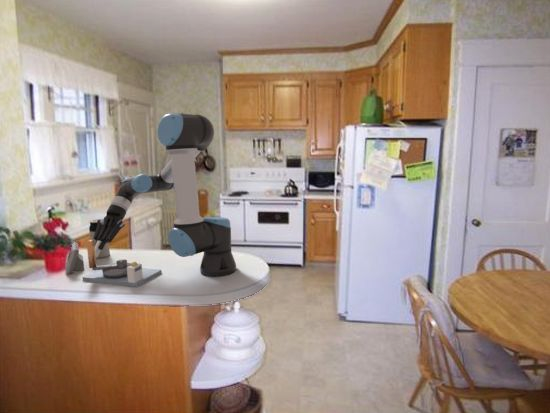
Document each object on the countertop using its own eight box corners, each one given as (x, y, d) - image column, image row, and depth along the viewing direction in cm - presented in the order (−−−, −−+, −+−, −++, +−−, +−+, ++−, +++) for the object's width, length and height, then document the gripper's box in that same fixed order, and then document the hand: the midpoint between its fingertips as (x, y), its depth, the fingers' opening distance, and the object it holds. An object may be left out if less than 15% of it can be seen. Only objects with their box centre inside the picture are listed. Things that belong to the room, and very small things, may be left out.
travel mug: (112, 255, 186) (109, 219, 183) (96, 259, 181) (92, 222, 178) (105, 252, 192) (102, 217, 189) (89, 256, 186) (85, 220, 183)
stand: (161, 273, 160) (160, 252, 158) (137, 286, 145) (135, 264, 143) (110, 268, 168) (109, 248, 166) (82, 280, 153) (80, 259, 151)
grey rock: (67, 264, 174) (64, 242, 172) (88, 262, 177) (86, 240, 175) (58, 276, 159) (55, 251, 157) (82, 273, 161) (79, 249, 160)
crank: (135, 267, 163) (133, 234, 160) (132, 276, 151) (129, 241, 149) (93, 271, 158) (89, 237, 156) (86, 280, 147) (83, 244, 145)
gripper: (135, 214, 168) (112, 261, 156) (111, 212, 172) (86, 259, 159) (126, 204, 163) (101, 252, 150) (101, 203, 166) (75, 250, 154)
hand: (93, 256), depth 155 cm, fingers closed
